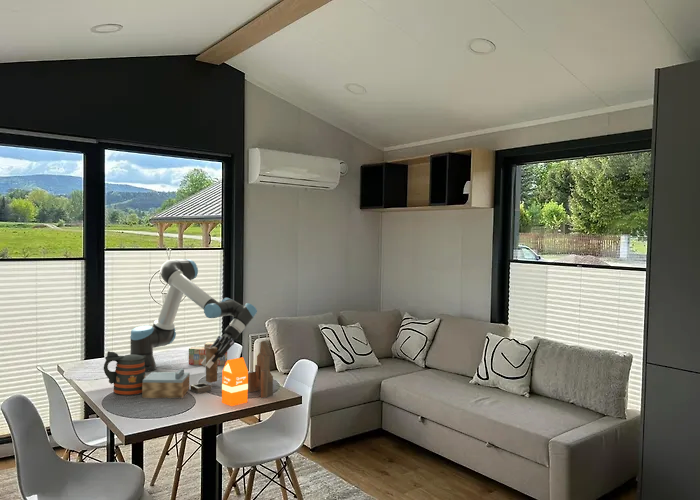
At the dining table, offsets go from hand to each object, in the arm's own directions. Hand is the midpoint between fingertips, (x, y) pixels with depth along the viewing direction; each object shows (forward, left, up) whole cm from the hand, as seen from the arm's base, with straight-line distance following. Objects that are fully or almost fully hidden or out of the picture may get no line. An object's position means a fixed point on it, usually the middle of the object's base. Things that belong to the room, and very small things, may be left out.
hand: (205, 365), depth 267 cm
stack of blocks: (-8, +47, -11) cm, 49 cm away
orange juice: (+19, -25, -11) cm, 33 cm away
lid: (-15, -12, -3) cm, 20 cm away
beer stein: (-35, -10, -11) cm, 38 cm away
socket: (0, -7, -10) cm, 13 cm away
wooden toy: (+29, -11, -11) cm, 33 cm away
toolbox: (-15, -12, -10) cm, 22 cm away
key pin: (+3, +2, -8) cm, 9 cm away
